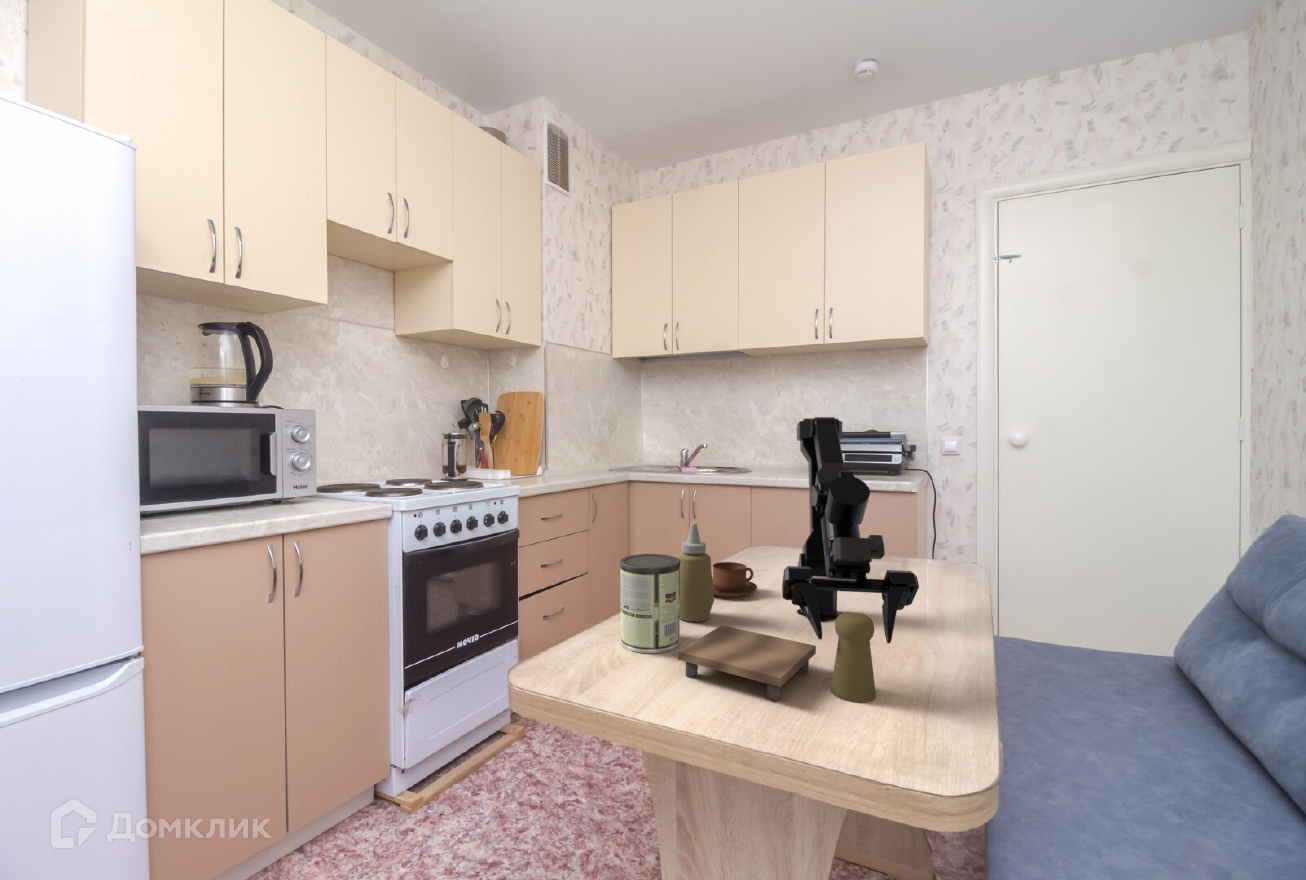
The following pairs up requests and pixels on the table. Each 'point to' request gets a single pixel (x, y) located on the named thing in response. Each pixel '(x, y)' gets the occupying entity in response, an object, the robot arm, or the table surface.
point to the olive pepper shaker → (853, 659)
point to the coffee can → (650, 603)
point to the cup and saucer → (732, 580)
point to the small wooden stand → (749, 656)
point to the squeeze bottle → (695, 579)
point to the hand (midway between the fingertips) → (854, 640)
